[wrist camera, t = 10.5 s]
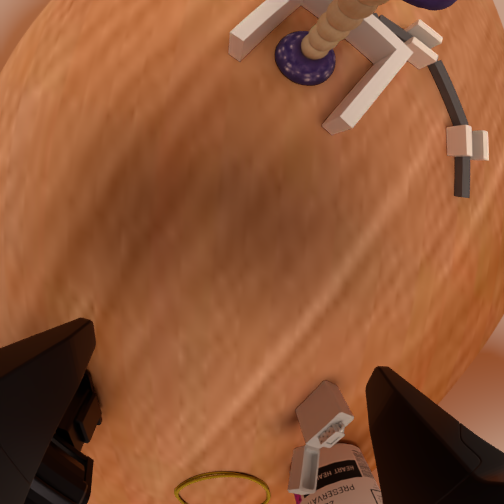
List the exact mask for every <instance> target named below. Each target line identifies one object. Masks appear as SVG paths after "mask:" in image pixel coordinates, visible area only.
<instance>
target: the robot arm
mask: <svg viewBox="0 0 504 504" xmlns="http://www.w3.org/2000/svg"><path fill="white" fill-rule="evenodd" d="M95 345H96V340H95V332H94V325H93V322H92V321H91V320H89V319H85V318H78V319H75V320H73V321H70V322H68V323H65V324H62V325H60V326H57V327H55V328H52V329H49V330H47V331H44V332H42V333H39V334H36V335H34V336H31V337H28V338H26V339H23V340H21V341H18V342H15V343H13V344H10V345H8V346H5V347H2V348H0V504H87V503H88V500H89V497H90V493H91V483H92V471H93V462H94V460H93V459H91V458H90V457H88V456H86V455H84V454H83V453H81V452H80V451H81V449H82V446H83V444H84V443H89V442H90V440H91V438H92V435H93V433H94V430H95V428H96V425H100V424H101V422H102V418H101V410H100V406H99V402H98V398H97V395H96V393H95V392H94V388H93V384H92V380H91V375H90V373H89V372H88V371H87V370H86V368H87V365H88V363H89V360H90V358H91V356H92V353H93V351H94V349H95ZM84 375H85V376H86V377H85V376H84ZM366 400H367V410H368V420H369V429H370V435H371V440H372V445H373V450H374V455H375V460H376V466H377V471H378V477H379V483H380V489H381V495H382V501H383V504H504V453H503V452H502V451H500V450H498V449H497V448H495V447H494V446H492V445H490V444H489V443H487V442H486V441H484V440H483V439H481V438H480V437H478V436H477V435H476V434H474V433H473V432H472V431H470V430H469V429H468V428H466V427H465V426H464V425H463V424H461V423H460V424H459V421H457V420H456V419H455V418H453V417H452V416H451V415H450V414H448V413H447V412H446V411H444V410H443V409H442V408H441V407H439V406H438V405H437V404H435V403H434V402H433V401H432V400H430V399H429V398H428V397H426V396H425V395H424V394H423V393H421V392H420V391H419V390H417V389H416V388H415V387H414V386H412V385H411V384H410V383H408V382H407V381H406V380H405V379H403V378H402V377H401V376H400V375H398V374H397V373H396V372H394V371H393V370H392V369H391V368H389V367H387V366H378V367H376V368H375V369H374V371H373V373H372V375H371V377H370V379H369V381H368V383H367V385H366Z"/></svg>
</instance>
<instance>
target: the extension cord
mask: <svg viewBox="0 0 504 504" xmlns="http://www.w3.org/2000/svg"><path fill="white" fill-rule="evenodd" d="M214 474H222V475H214ZM208 475H212V476H208ZM203 476H206V477H203ZM200 477H202V478H200ZM219 477H238V478H245V479H249V480H251V481H254V482H256V483H258V484H259V485H261V486H262V487H263V488H264V489H265V490H266V493H267V499H266V500H265V501H264V502H263V503H261V504H267V503H268V502H269V500H270V492H269V488H268V486H267V484H266V483H265V482H263V481H262V480H260V479H258V478H255V477H252V476H249V475H244V474H240V473H235V472H225V471H221V472H209V473H204V474H200V475H197V476H194V477H192V478H190V479H188V480H186V481H184V482H183V483H181V484H180V485H178V486H177V487H176V488H175V490H174V494H175V497H176V498H177V499H178V500H179V501H180V502H181V503H182V504H188V503H186V502H184V501H183V500H181V499H180V497H179V491H180V490H181V489H183V488H184V487H186V486H188V485H190V484H192V483H195V482H198V481H201V480H206V479H211V478H219ZM197 478H198V479H197ZM194 479H195V480H194Z"/></svg>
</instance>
